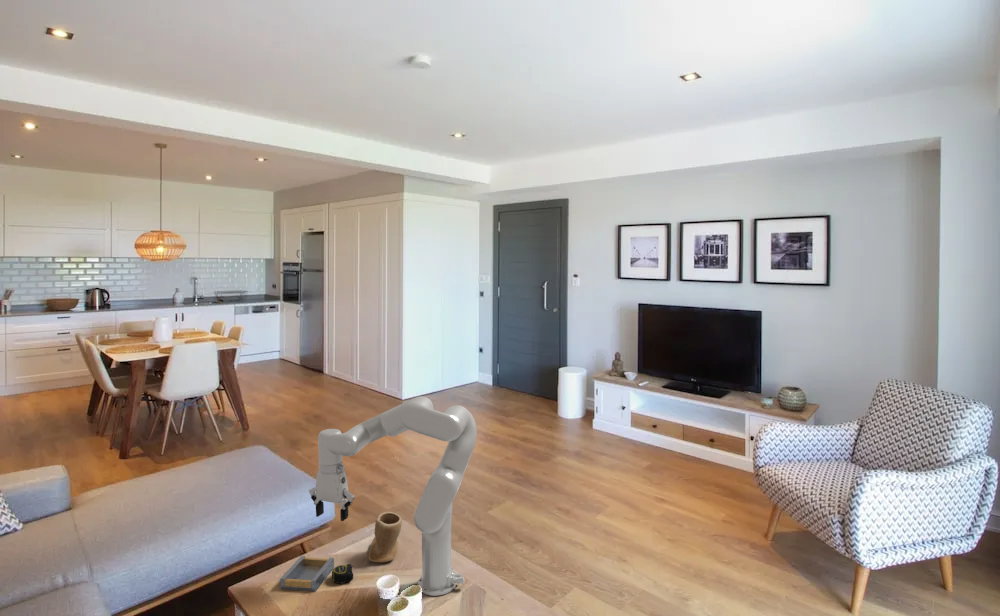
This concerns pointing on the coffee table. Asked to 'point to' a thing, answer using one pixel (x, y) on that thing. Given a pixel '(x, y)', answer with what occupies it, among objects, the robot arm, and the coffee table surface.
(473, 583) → the coffee table surface
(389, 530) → the brown boot
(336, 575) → the tape measure
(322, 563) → the shallow grey tray
